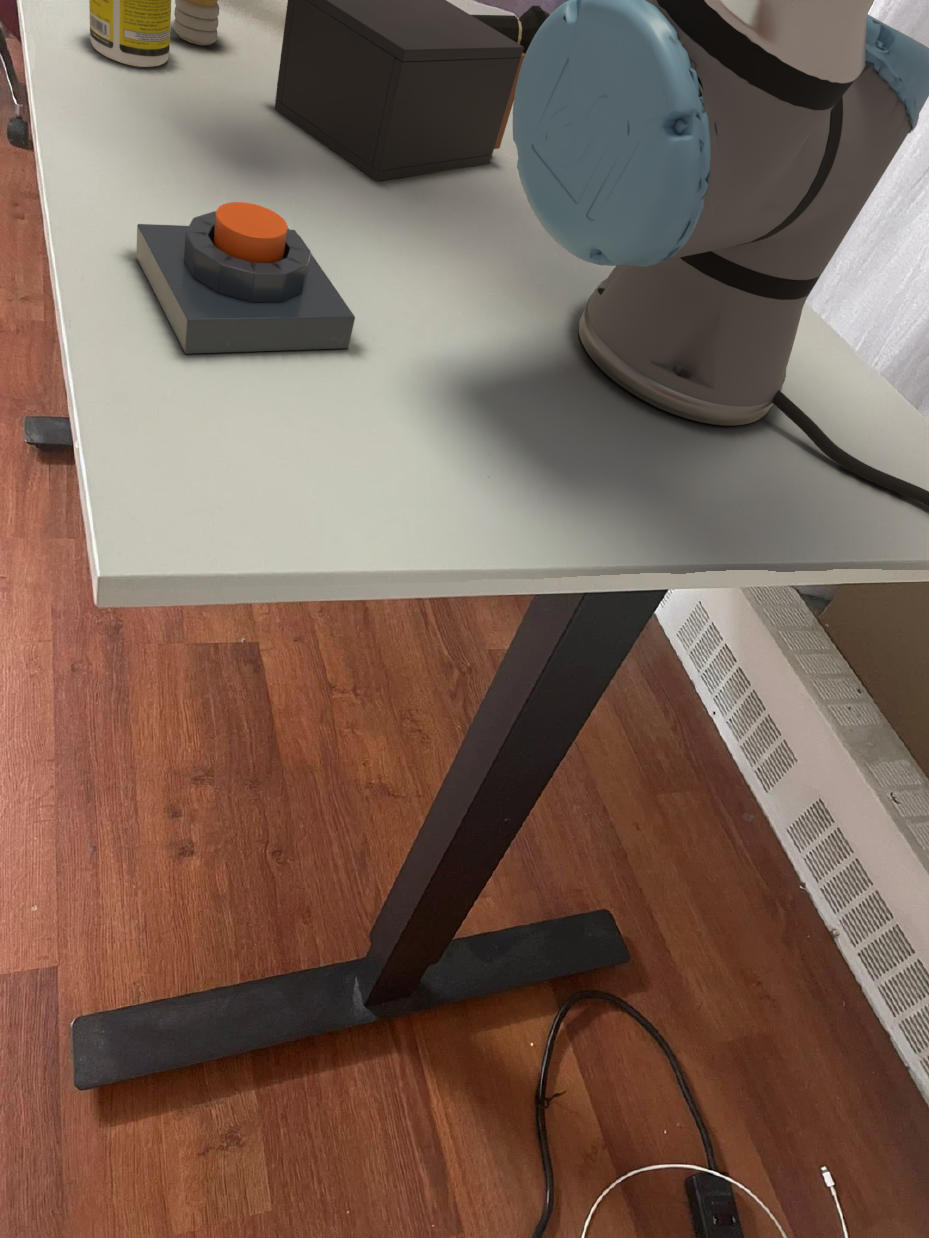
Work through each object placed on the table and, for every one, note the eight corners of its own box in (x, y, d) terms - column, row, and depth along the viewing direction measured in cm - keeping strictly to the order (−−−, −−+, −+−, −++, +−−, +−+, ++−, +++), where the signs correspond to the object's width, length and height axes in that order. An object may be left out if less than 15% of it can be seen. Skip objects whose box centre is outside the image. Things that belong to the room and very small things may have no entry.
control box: (348, 348, 55) (362, 289, 52) (185, 354, 50) (189, 289, 47) (290, 260, 60) (299, 202, 57) (135, 258, 55) (137, 193, 52)
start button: (293, 267, 52) (298, 239, 51) (226, 266, 50) (229, 236, 49) (269, 231, 54) (273, 203, 53) (204, 229, 52) (206, 199, 51)
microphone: (389, 65, 100) (553, 77, 106) (398, 15, 95) (570, 30, 101) (380, 30, 102) (542, 44, 108) (388, -21, 97) (558, -4, 103)
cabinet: (393, 99, 85) (418, -17, 78) (489, 163, 81) (524, 47, 75) (274, 109, 76) (290, -23, 69) (376, 181, 72) (404, 50, 65)
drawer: (420, 91, 86) (442, -2, 81) (507, 147, 83) (536, 55, 77) (305, 99, 77) (320, -5, 71) (398, 163, 73) (421, 59, 68)
